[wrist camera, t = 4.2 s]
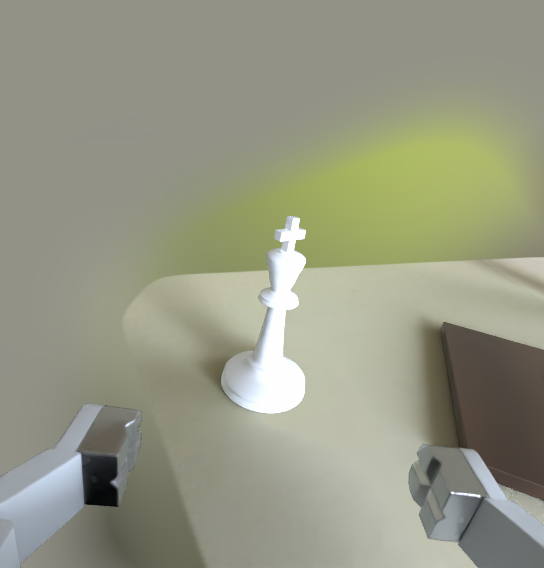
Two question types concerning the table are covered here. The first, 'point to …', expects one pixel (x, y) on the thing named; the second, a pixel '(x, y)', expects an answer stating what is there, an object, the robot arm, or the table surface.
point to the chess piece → (271, 338)
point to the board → (498, 404)
